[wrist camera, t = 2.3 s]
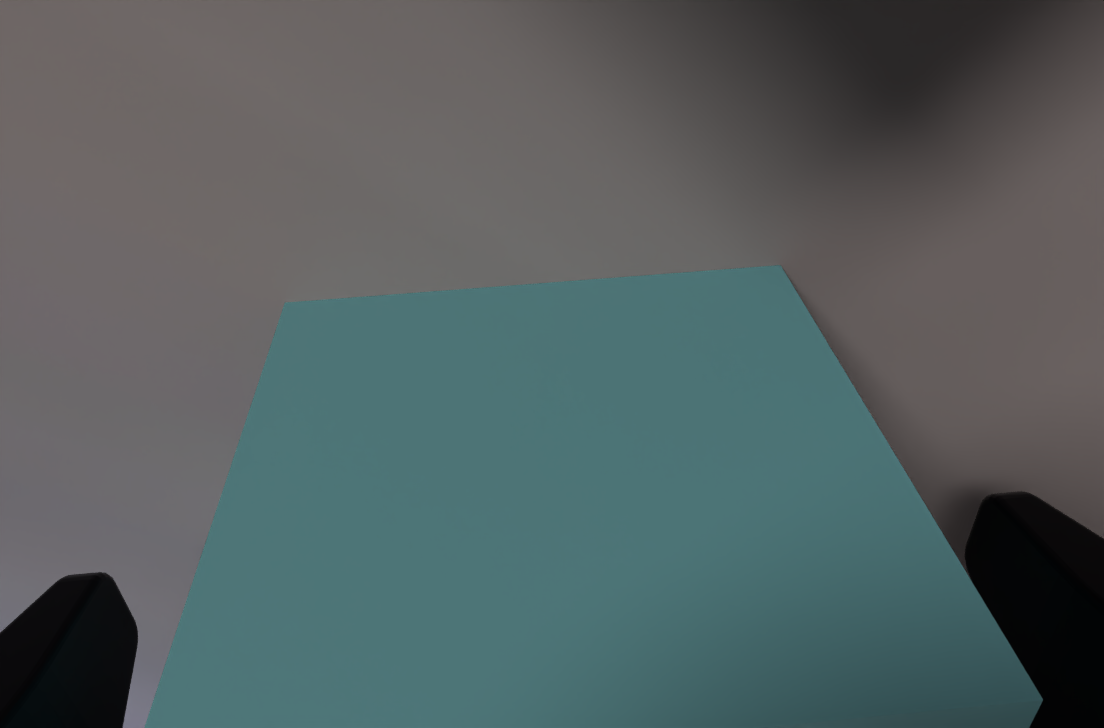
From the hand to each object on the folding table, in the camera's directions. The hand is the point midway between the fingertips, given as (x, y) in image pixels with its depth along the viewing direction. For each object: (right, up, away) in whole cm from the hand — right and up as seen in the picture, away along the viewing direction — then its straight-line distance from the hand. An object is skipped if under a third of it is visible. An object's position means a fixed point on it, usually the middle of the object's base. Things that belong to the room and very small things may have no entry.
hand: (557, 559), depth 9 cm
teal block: (0, +1, +1) cm, 2 cm away
